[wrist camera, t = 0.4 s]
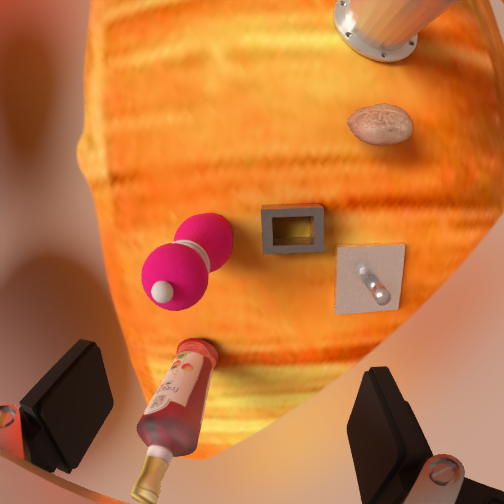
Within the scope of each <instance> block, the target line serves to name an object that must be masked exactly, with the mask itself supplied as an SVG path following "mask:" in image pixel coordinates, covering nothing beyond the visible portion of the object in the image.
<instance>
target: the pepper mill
mask: <svg viewBox="0 0 504 504" xmlns="http://www.w3.org/2000/svg"><path fill="white" fill-rule="evenodd" d="M232 240H233V232H232V228H231V226H230V224H229V223H228V222H227V220H226V219H225V218H223V217H222V216H220V215H218V214H214V213H205V214H199V215H195V216H192V217H190V218H188V219H187V220H185V221H184V222H183V223H182V224H181V225H180V227H179V228H178V230H177V232H176V234H175V237H174V242H173V243H168V244H165V245H162V246H160V247H158V248H156V249H155V250H154V251H153V252H151V254H150V255H149V256H148V257H147V259H146V261H145V263H144V265H143V268H142V274H141V276H142V285H143V288H144V290H145V292H146V294H147V296H148V297H149V298H150V299H151V300H152V301H153V302H154V303H155V304H156V305H158V306H159V307H161V308H164V309H167V310H170V311H180V310H184V309H187V308H189V307H191V306H193V305H195V304H196V303H197V302H198V301H199V300H200V299H201V298H202V296H203V295H204V293H205V291H206V289H207V285H208V275H209V273H210V272H213V271H215V270H217V269H219V268H220V267H221V266H223V265H224V264H225V262H226V261H227V260H228V258H229V257H230V254H231V251H232V245H233V241H232Z"/></svg>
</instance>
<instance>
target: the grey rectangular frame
mask: <svg viewBox="0 0 504 504" xmlns="http://www.w3.org/2000/svg"><path fill="white" fill-rule="evenodd" d="M300 216H310V237H289V238H273V220H272V218H273V217H300ZM261 222H262V241H263V254H284V253H311V252H324V207H323V206H322V205H321V204H320V203H306V204H277V205H262V207H261Z"/></svg>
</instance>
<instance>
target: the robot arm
mask: <svg viewBox="0 0 504 504" xmlns="http://www.w3.org/2000/svg"><path fill="white" fill-rule="evenodd" d="M457 1H458V0H338V1H337V3H336V5H335V8H334V14H333V18H334V24H335V27H336V29H337V31H338V33H339V35H340V36H341V38H342V39H343V40H344V41H345V42H346V44H348V45H349V46H350V47H351V48H352V49H353V50H355V51H356V52H358V53H359V54H361V55H363V56H365V57H367V58H369V59H372V60H375V61H380V62H396V61H400V60H402V59H404V58H406V57H407V56H409V55H410V54H411V53H412V52H413V51H414V49H415V47H416V45H417V40H418V33H419V32H420V31H421V30H422V29H424V28H425V27H426V26H427V25H428V24H430V23H431V22H432V21H433V20H435V19H436V18H437V17H438V16H440V15H441V14H442V13H443V12H445V11H446V10H447V9H448V8H450V7H451V6H452V5H453V4H455V3H456V2H457ZM501 1H502V2H503V3H504V0H501ZM347 36H348V37H347ZM382 56H383V57H384V58H383V57H382ZM20 405H21V407H20V408H19V409H18V408H17V406H15V405H14V404H11V403H0V504H129V503H125V502H122V501H119V500H116V499H113V498H110V497H107V496H104V495H101V494H99V493H96V492H93V491H91V490H88V489H86V488H83V487H81V486H79V485H76V484H74V483H71V482H69V481H67V480H64V479H62V478H60V477H58V476H56V475H55V473H54V471H55V469H56V468H58V469H59V470H61V471H64V472H66V473H68V474H70V473H71V471H72V469H75V468H77V467H78V465H79V463H80V462H81V460H82V458H83V456H84V455H85V453H86V451H87V449H88V448H89V446H90V444H91V443H92V441H93V439H94V438H95V436H96V434H97V433H98V431H99V429H100V428H101V426H102V424H103V423H104V421H105V419H106V418H107V416H108V414H109V413H110V411H111V410H112V407H113V397H112V394H111V390H110V387H109V383H108V379H107V375H106V372H105V368H104V363H103V359H102V355H101V350H100V348H99V347H97V345H96V343H95V342H92V341H87V340H83V339H80V340H79V341H78V342H77V343H76V344H75V345H74V346H73V347H72V348H71V349H70V350H69V351H68V352H67V353H66V354H65V355H64V356H63V357H62V358H61V359H60V360H59V361H58V362H57V363H56V364H55V365H54V366H53V367H52V368H51V369H50V370H49V371H48V372H47V373H46V374H45V375H44V376H43V377H42V378H41V380H40V381H39V382H38V383H37V384H36V385H35V386H34V387H33V388H32V389H31V390H30V391H29V392H28V393H27V394H26V396H25V397H24V398H23V399H22V400H21V401H20ZM347 435H348V439H349V444H350V448H351V453H352V457H353V461H354V466H355V471H356V475H357V481H358V485H359V490H360V495H361V501H362V504H504V492H503V491H501V490H498V489H495V488H492V487H489V486H486V485H484V484H481V483H478V482H475V481H473V480H471V479H468V478H465V477H464V475H465V470H464V466H463V465H462V463H461V462H460V461H459V460H458V459H457V458H455V457H453V456H451V455H447V454H438V455H435V456H433V454H432V451H431V449H430V447H429V445H428V443H427V440H426V438H425V436H424V434H423V432H422V429H421V427H420V425H419V423H418V421H417V419H416V417H415V415H414V413H413V411H412V409H411V407H410V405H409V403H408V402H407V401H404V399H403V397H402V394H401V393H400V391H399V389H398V386H397V385H396V382H395V381H394V378H393V376H392V375H391V372H390V371H389V369H388V368H387V367H386V366H385V367H371V368H370V369H369V371H366V372H365V373H364V375H363V378H362V382H361V385H360V388H359V391H358V394H357V397H356V400H355V404H354V406H353V409H352V413H351V415H350V418H349V421H348V424H347Z"/></svg>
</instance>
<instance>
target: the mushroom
mask: <svg viewBox="0 0 504 504" xmlns="http://www.w3.org/2000/svg"><path fill="white" fill-rule="evenodd" d="M347 125H348V126H349V128H350V129H351V131H352V132H353V133H354V135H355V136H356V137H357V138H359V139H360V141H361V140H362V141H364V142H366V143H368V144H372V145H390V144H397V143H401V142H404V141H406V140H408V139H409V138H410V137H411V135H412V133H413V129H414V126H413V121H412V119H411V117H410V116H409V115H408V113H407V112H406V111H405V110H403V109H401V108H400V107H398V106H395V105H389V104H385V103H383V104H377V105H374V106H370V107H365V108H361V109H359V110H356V111H355V113H354V114H352V115H351V116H350V117H349V118H348V120H347Z"/></svg>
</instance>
